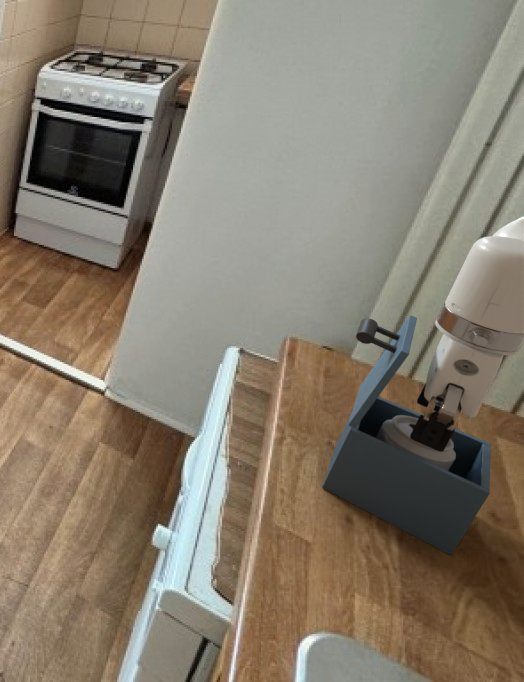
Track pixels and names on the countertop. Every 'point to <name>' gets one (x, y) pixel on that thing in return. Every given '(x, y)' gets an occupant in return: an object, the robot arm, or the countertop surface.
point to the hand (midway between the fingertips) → (428, 425)
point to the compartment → (410, 479)
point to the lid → (381, 362)
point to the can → (399, 437)
